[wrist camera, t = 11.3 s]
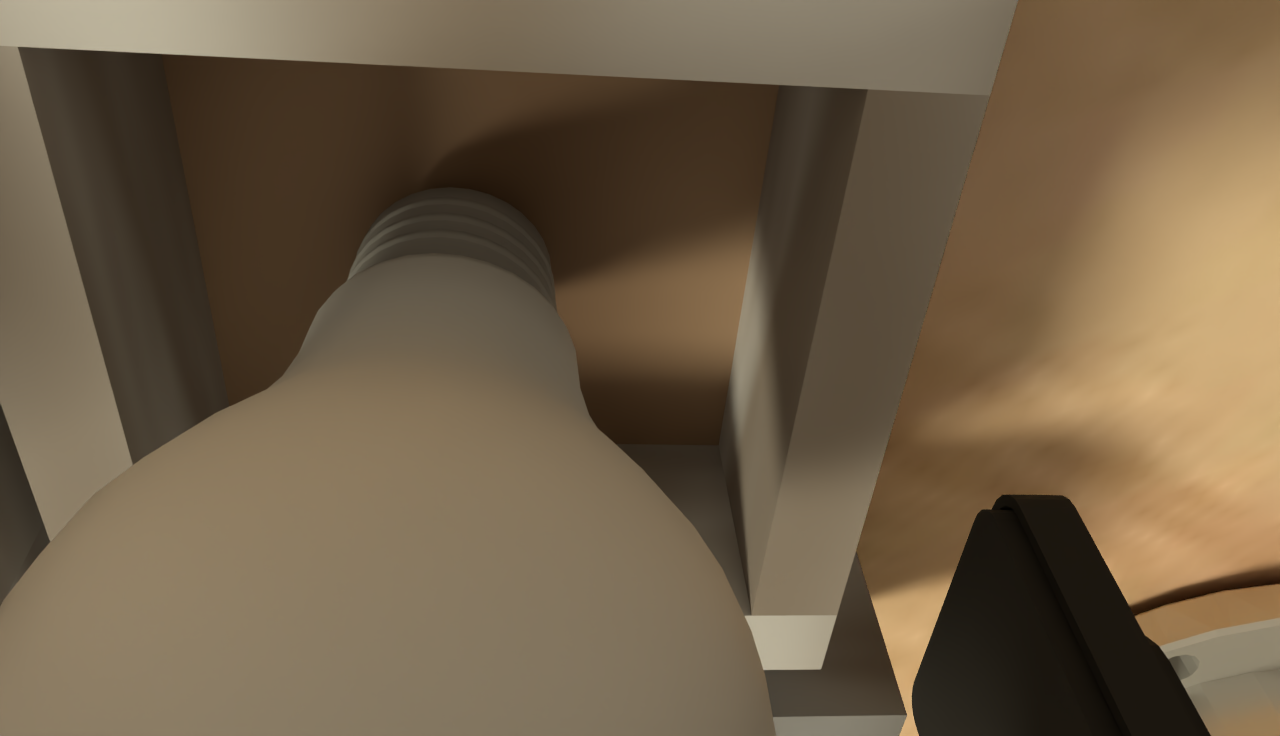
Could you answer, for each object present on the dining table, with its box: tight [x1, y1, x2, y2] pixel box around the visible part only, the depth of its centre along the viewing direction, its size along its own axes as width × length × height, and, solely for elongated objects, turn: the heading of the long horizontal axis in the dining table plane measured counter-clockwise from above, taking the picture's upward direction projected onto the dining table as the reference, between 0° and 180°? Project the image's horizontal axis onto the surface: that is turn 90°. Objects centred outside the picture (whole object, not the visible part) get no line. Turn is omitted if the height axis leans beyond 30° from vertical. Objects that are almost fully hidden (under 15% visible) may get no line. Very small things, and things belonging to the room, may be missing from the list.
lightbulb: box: [0, 187, 776, 736], centre depth 10 cm, size 6×6×11 cm
